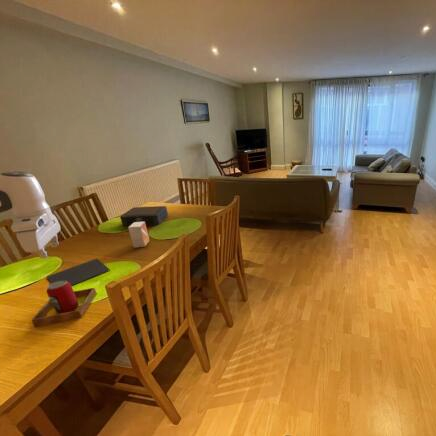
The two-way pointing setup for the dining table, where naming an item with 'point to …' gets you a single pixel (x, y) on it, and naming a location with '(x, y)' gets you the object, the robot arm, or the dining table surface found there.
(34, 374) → the dining table surface
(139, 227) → the small box
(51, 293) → the beverage can
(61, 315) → the brown wooden frame
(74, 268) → the rubber mat
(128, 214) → the cash box
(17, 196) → the robot arm
